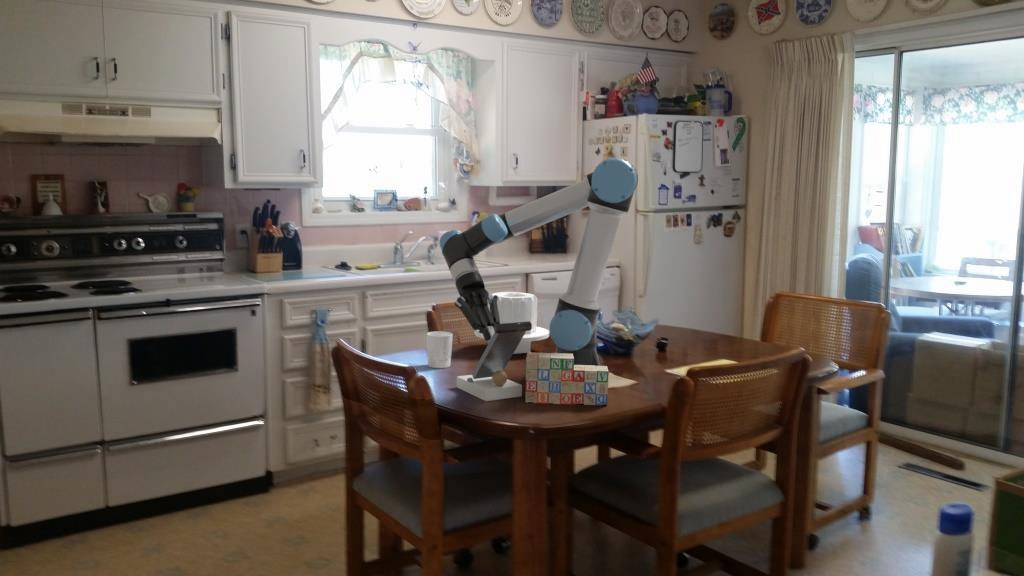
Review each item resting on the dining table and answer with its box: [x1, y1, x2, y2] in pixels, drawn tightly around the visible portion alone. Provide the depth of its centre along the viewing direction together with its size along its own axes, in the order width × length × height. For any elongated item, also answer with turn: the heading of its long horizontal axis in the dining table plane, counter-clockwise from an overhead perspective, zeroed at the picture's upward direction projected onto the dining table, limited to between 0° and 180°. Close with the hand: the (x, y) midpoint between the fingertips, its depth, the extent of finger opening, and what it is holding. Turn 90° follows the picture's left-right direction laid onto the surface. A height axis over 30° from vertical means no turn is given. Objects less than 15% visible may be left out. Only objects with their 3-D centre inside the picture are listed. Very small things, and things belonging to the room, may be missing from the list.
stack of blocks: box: [525, 351, 609, 406], centre depth 215 cm, size 21×6×12 cm, turn 86°
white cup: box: [426, 330, 453, 369], centre depth 251 cm, size 8×8×10 cm
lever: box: [471, 321, 532, 379], centre depth 217 cm, size 2×10×21 cm
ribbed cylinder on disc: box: [473, 291, 550, 355], centre depth 275 cm, size 25×25×19 cm
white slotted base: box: [456, 370, 523, 402], centre depth 222 cm, size 16×11×7 cm
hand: (496, 349), depth 218 cm, fingers closed
